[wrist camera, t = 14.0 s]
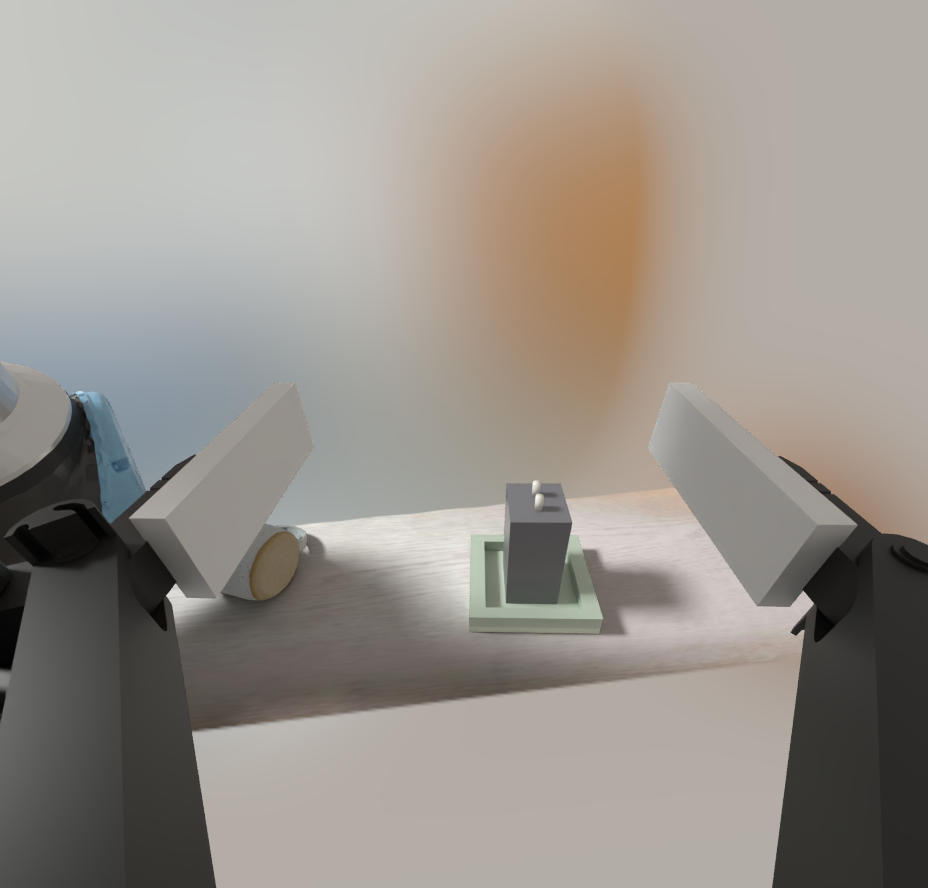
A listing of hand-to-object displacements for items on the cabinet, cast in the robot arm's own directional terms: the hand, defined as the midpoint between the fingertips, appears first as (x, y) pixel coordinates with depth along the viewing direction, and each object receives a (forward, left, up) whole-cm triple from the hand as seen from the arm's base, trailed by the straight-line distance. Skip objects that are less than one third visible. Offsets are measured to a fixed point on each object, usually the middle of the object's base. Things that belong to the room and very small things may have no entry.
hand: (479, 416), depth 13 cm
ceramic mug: (-24, +14, -27) cm, 39 cm away
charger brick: (+5, +13, -26) cm, 30 cm away
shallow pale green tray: (+5, +13, -27) cm, 30 cm away
